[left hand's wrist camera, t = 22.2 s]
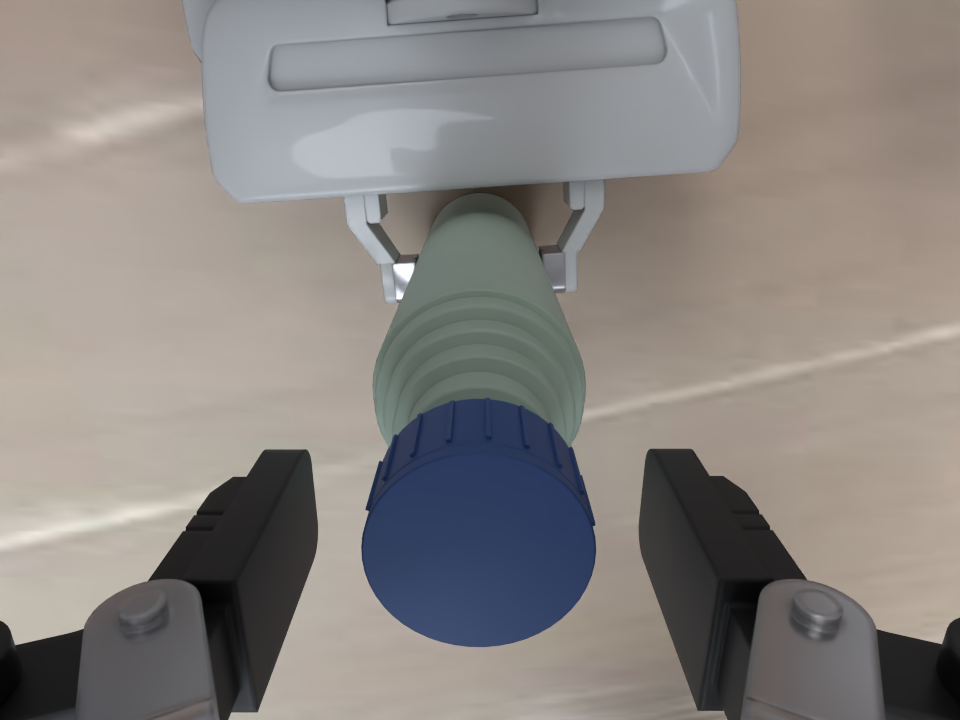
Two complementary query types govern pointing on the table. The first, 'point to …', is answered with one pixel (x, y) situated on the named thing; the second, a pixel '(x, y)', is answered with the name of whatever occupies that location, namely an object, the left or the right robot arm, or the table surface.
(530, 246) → the bottle
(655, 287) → the table surface
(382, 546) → the cap
